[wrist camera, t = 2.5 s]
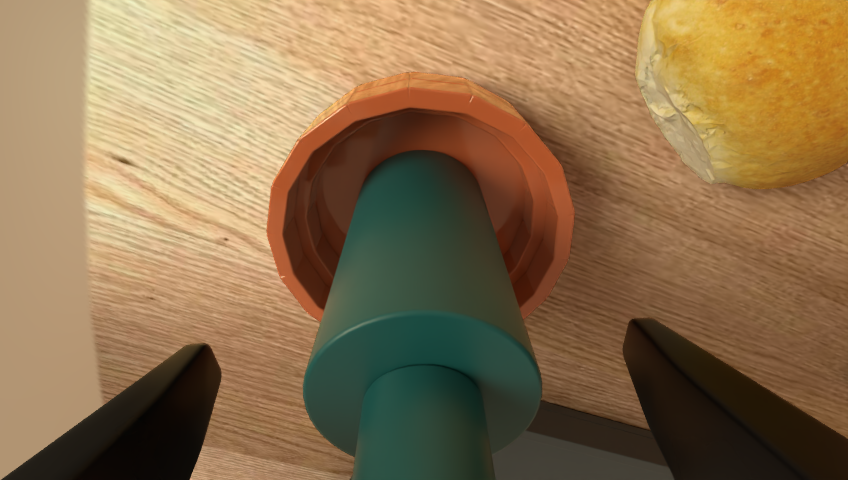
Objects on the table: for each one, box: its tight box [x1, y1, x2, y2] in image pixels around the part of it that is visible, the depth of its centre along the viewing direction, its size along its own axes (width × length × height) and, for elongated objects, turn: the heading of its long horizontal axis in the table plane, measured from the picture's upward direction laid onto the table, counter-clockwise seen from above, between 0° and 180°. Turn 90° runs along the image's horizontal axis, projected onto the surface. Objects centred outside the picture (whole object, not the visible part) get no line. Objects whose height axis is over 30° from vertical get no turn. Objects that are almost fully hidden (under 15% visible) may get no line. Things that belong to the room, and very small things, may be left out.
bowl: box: [266, 72, 575, 322], centre depth 14 cm, size 9×9×3 cm
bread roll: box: [635, 0, 848, 189], centre depth 10 cm, size 8×9×4 cm
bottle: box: [303, 150, 542, 480], centre depth 10 cm, size 4×4×11 cm
